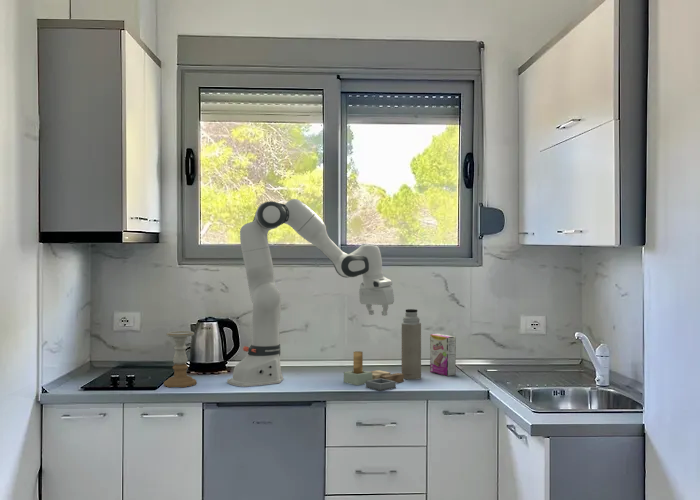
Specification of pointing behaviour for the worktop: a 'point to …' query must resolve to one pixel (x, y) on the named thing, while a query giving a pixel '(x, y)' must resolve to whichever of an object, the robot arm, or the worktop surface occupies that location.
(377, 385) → the tray
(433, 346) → the candy bar box
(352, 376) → the socket block
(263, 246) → the robot arm
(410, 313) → the thermos bottle
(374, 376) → the tan wooden block
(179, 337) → the candle holder
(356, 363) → the dowel
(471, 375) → the worktop surface
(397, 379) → the bar
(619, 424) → the worktop surface
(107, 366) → the worktop surface
